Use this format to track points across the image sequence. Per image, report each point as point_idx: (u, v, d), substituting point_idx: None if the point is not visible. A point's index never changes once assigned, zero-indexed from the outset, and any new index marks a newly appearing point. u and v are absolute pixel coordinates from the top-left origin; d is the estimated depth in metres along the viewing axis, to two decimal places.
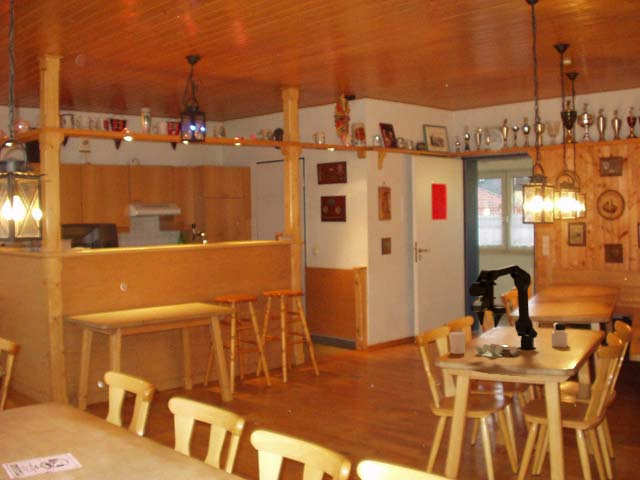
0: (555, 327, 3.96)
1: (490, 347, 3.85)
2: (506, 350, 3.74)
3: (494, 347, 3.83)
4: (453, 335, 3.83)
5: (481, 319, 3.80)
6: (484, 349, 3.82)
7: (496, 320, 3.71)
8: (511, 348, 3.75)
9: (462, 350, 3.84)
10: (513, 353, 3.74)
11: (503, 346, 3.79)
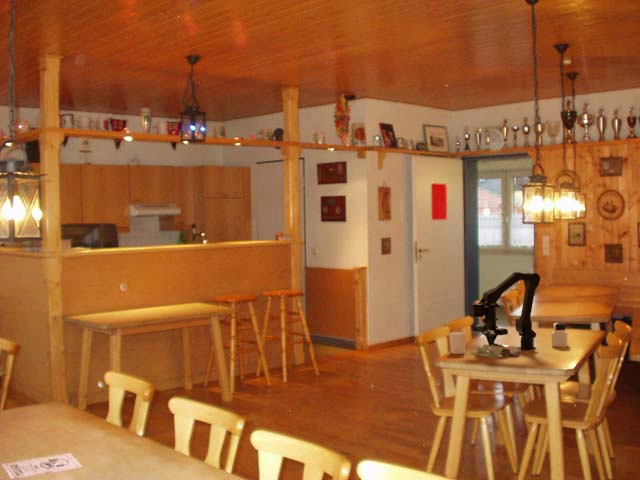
0: (555, 327, 3.96)
1: (491, 346, 3.85)
2: (506, 350, 3.74)
3: (495, 346, 3.83)
4: (453, 335, 3.83)
5: None
6: (484, 349, 3.82)
7: (491, 340, 3.86)
8: (512, 347, 3.75)
9: (462, 350, 3.84)
10: (514, 353, 3.74)
11: (504, 345, 3.79)
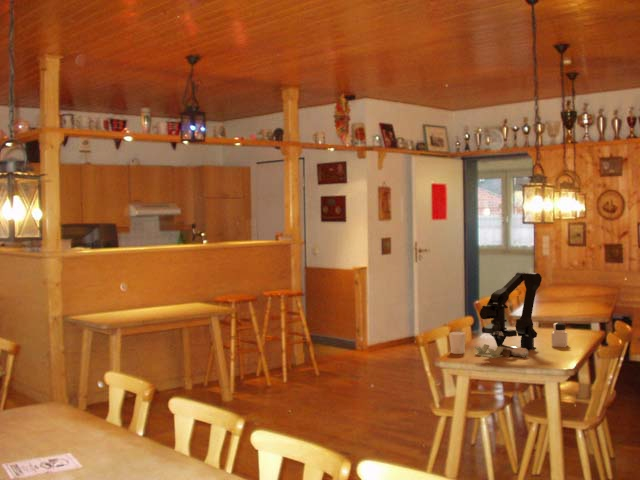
0: (555, 327, 3.96)
1: None
2: (506, 350, 3.74)
3: None
4: (453, 335, 3.83)
5: None
6: (484, 349, 3.82)
7: (500, 341, 3.82)
8: (521, 349, 3.70)
9: (462, 350, 3.84)
10: (523, 354, 3.69)
11: (513, 347, 3.74)
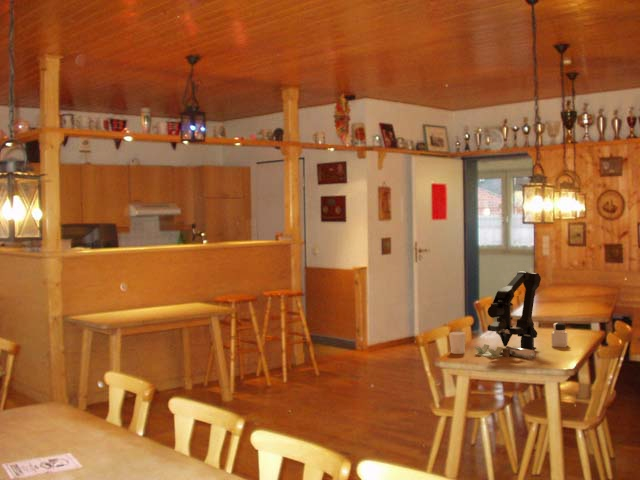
0: (555, 327, 3.96)
1: None
2: (506, 350, 3.74)
3: (510, 350, 3.75)
4: (453, 335, 3.83)
5: None
6: (484, 349, 3.82)
7: (506, 339, 3.78)
8: (527, 350, 3.67)
9: (462, 350, 3.84)
10: (530, 356, 3.66)
11: (519, 349, 3.71)
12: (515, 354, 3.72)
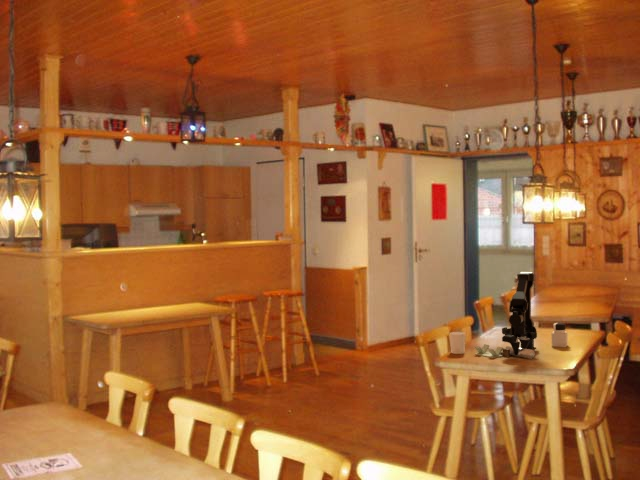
0: (555, 327, 3.96)
1: None
2: (506, 350, 3.74)
3: (510, 349, 3.75)
4: (453, 335, 3.83)
5: (522, 347, 3.74)
6: (484, 349, 3.82)
7: (513, 348, 3.71)
8: (527, 350, 3.67)
9: (462, 350, 3.84)
10: (529, 356, 3.66)
11: (519, 348, 3.71)
12: None
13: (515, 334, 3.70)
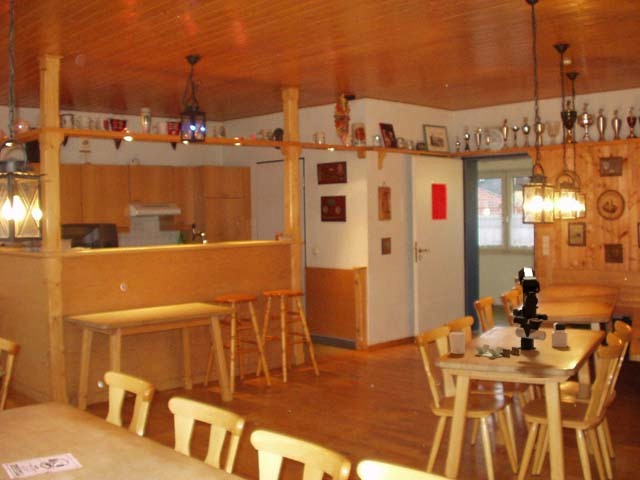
0: (555, 327, 3.96)
1: (516, 331, 3.71)
2: (506, 350, 3.74)
3: (521, 331, 3.68)
4: (453, 335, 3.83)
5: (534, 329, 3.67)
6: (484, 349, 3.82)
7: (524, 329, 3.64)
8: (538, 331, 3.60)
9: (462, 350, 3.84)
10: (541, 337, 3.59)
11: (530, 330, 3.65)
12: None
13: (526, 315, 3.64)
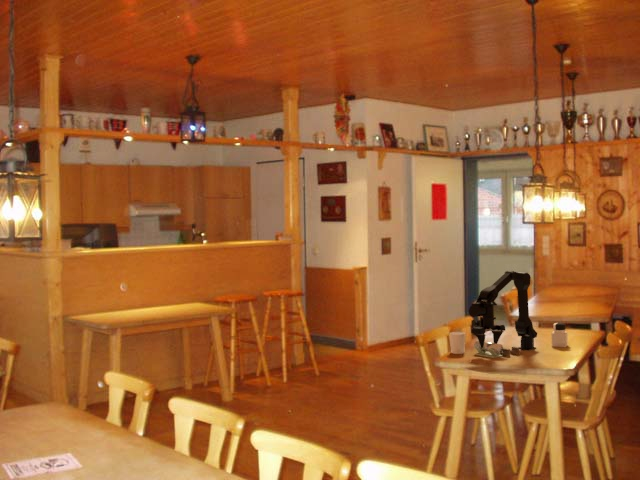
0: (555, 327, 3.96)
1: (475, 344, 3.82)
2: (506, 350, 3.74)
3: (479, 344, 3.80)
4: (453, 335, 3.83)
5: (494, 339, 3.80)
6: None
7: (479, 340, 3.75)
8: (495, 344, 3.72)
9: (462, 350, 3.84)
10: (498, 350, 3.71)
11: (488, 343, 3.76)
12: (484, 348, 3.77)
13: (484, 326, 3.76)
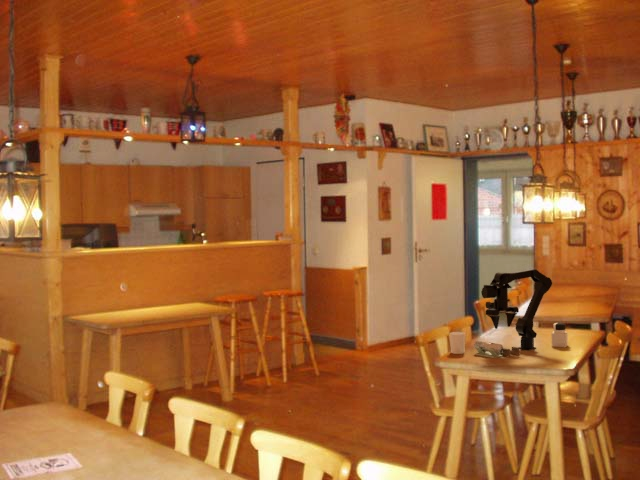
0: (555, 327, 3.96)
1: (475, 344, 3.82)
2: (506, 350, 3.74)
3: (479, 344, 3.80)
4: (453, 335, 3.83)
5: (508, 320, 3.90)
6: None
7: (493, 321, 3.85)
8: (495, 344, 3.72)
9: (462, 350, 3.84)
10: (498, 350, 3.71)
11: (488, 343, 3.76)
12: (484, 348, 3.77)
13: (498, 308, 3.85)
